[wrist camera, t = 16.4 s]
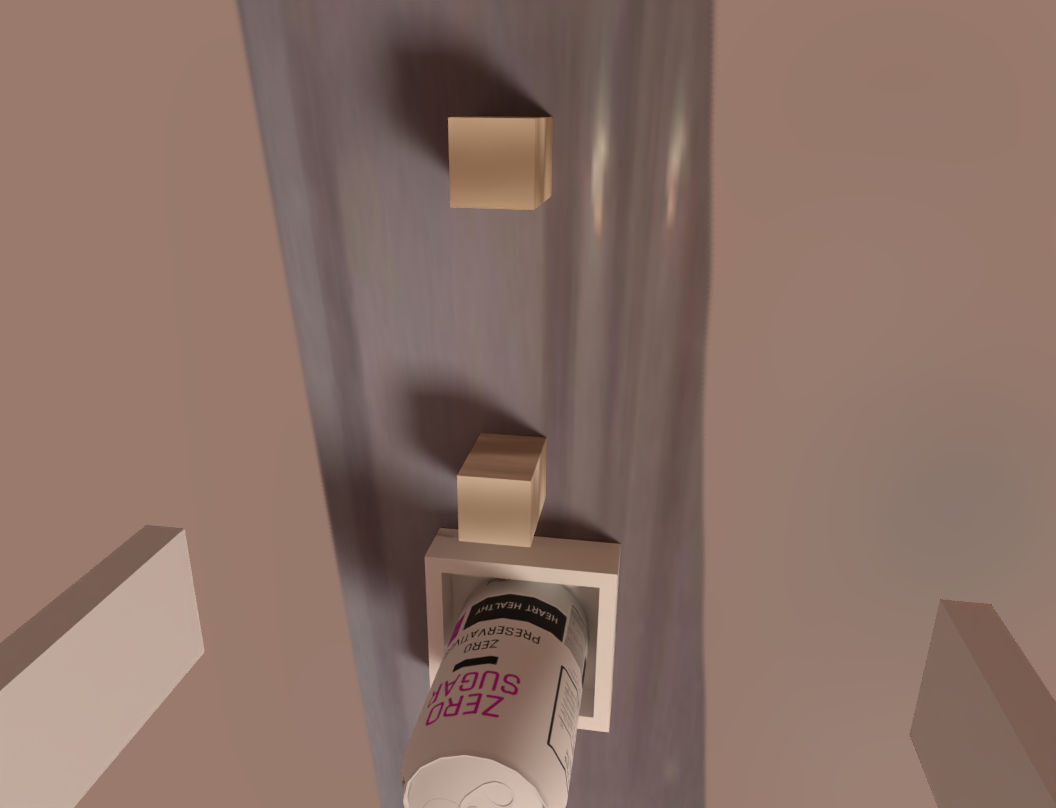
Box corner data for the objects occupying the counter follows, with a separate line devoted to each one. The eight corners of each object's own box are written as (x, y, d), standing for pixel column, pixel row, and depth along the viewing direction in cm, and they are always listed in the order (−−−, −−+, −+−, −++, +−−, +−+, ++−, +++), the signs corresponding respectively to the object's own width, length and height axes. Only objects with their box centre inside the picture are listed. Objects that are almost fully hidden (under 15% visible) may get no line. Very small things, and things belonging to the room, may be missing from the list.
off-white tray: (439, 527, 51) (424, 556, 47) (620, 543, 49) (617, 574, 46) (444, 674, 55) (431, 710, 52) (612, 694, 53) (608, 732, 50)
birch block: (480, 432, 48) (457, 475, 42) (546, 437, 47) (531, 481, 42) (481, 492, 49) (458, 541, 44) (545, 497, 49) (530, 547, 43)
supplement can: (529, 694, 53) (481, 903, 39) (439, 614, 52) (357, 799, 38) (617, 628, 50) (599, 829, 36) (523, 542, 49) (468, 714, 35)
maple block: (476, 115, 42) (447, 117, 36) (552, 116, 41) (534, 118, 36) (477, 194, 43) (450, 207, 38) (551, 196, 42) (534, 209, 37)
